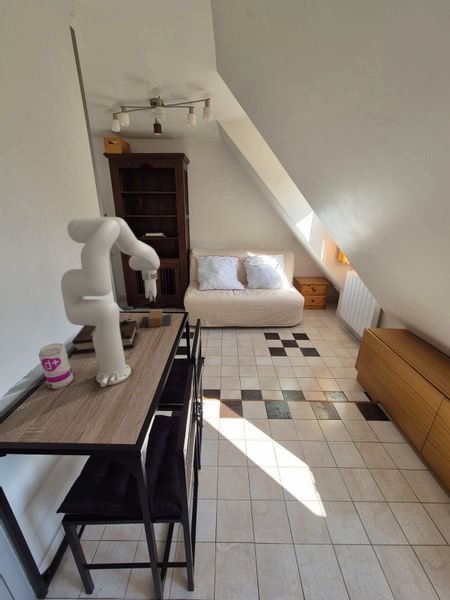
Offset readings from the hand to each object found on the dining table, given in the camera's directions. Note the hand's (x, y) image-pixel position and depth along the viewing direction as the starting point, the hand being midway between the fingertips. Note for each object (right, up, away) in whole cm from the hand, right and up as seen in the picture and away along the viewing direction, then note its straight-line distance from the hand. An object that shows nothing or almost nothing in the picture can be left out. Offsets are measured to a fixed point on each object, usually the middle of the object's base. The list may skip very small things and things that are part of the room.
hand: (153, 308), depth 138 cm
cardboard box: (+1, -8, -1) cm, 8 cm away
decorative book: (-18, -17, -15) cm, 28 cm away
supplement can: (-23, -27, -43) cm, 56 cm away
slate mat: (-1, -8, +8) cm, 11 cm away
